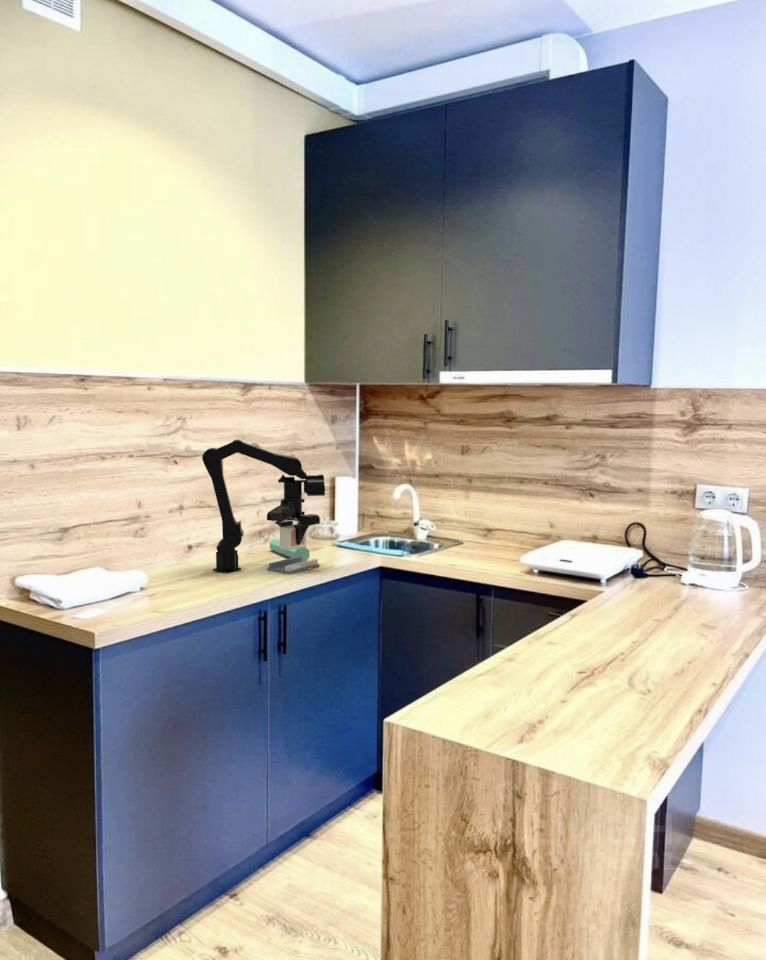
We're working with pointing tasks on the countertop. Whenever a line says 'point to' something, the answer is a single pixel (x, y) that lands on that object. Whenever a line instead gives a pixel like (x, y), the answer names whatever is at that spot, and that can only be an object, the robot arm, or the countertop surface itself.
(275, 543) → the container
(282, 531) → the product box
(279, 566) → the shallow grey tray
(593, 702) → the countertop surface
